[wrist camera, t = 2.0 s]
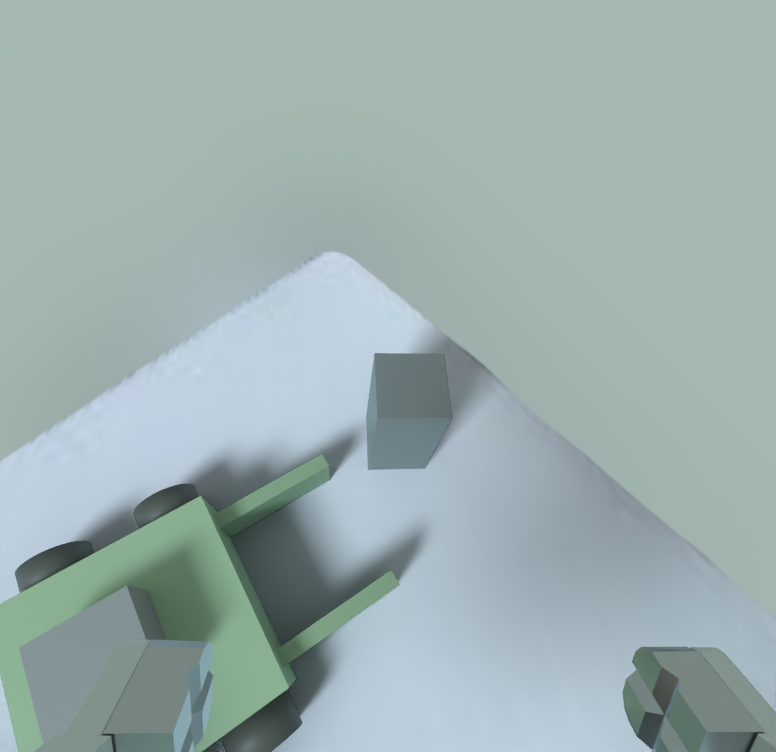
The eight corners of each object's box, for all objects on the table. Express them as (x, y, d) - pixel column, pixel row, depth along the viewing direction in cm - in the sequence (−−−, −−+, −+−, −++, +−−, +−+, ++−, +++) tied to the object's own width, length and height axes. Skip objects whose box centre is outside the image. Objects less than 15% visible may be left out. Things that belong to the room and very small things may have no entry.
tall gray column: (424, 468, 36) (451, 417, 27) (368, 469, 36) (377, 418, 27) (419, 416, 38) (443, 353, 30) (366, 416, 38) (374, 353, 29)
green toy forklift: (418, 630, 31) (441, 631, 24) (108, 866, 24) (14, 964, 17) (305, 437, 36) (296, 392, 29) (30, 584, 30) (-65, 572, 23)
